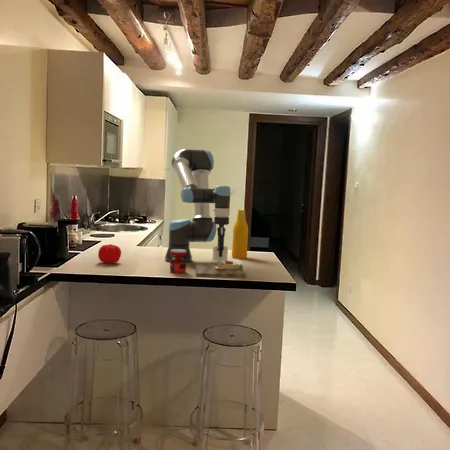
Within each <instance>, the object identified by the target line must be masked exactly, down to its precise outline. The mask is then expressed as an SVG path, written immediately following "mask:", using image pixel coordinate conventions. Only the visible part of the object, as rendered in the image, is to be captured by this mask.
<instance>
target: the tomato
mask: <svg viewBox="0 0 450 450" xmlns="http://www.w3.org/2000/svg"><path fill="white" fill-rule="evenodd" d="M97 256H98V260H99V261H100V262H101V263H103V264H111V265H112V264H116V263H118V262H119V260H120V258H121V256H122V250H121V248H120V247H119V246H117V245H115V244H111V243H110V244H104V245H101V247H100V248H99V249H98V253H97Z"/></svg>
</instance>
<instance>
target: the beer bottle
mask: <svg viewBox="0 0 450 450" xmlns="http://www.w3.org/2000/svg"><path fill="white" fill-rule="evenodd" d="M246 220H247V219H246V210H245V209H237V215H236V219H235V222H234V223H233V227H232V241H231V242H232V244H231V245H232V246H231V257H232V259H237V260H243V259H244V260H245V259H247V257H248V239H249V226H248V222H247V221H246Z"/></svg>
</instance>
